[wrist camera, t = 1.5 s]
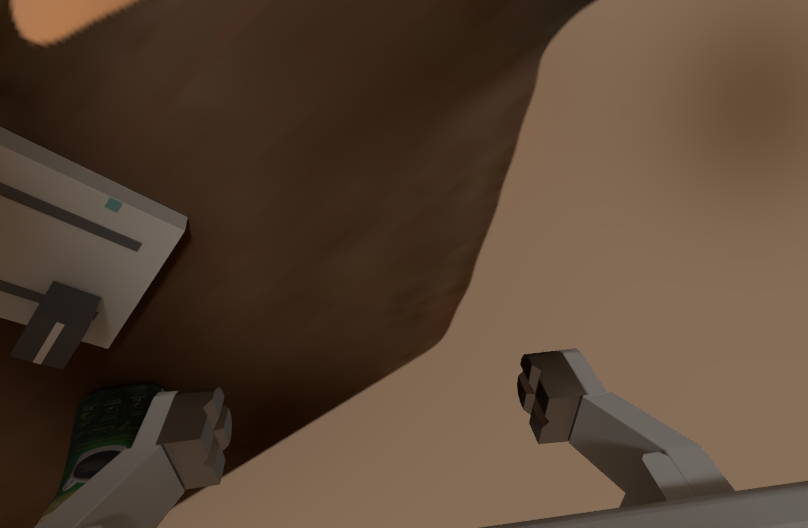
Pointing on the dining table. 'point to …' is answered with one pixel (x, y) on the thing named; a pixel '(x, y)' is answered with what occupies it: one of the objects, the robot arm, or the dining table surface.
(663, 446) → the robot arm
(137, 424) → the coffee jar
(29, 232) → the console
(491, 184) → the dining table surface
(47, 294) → the fader
